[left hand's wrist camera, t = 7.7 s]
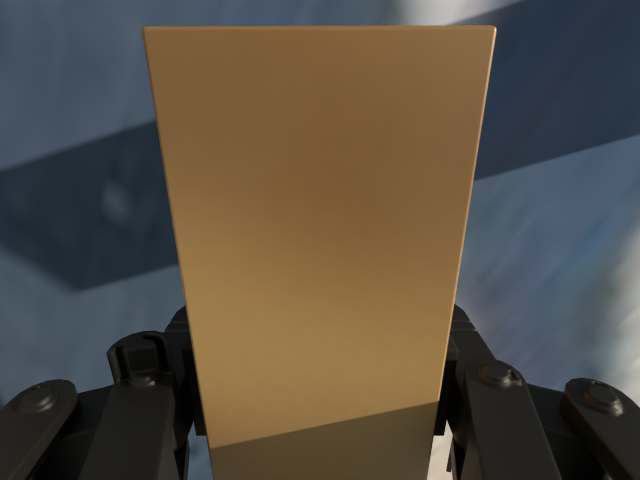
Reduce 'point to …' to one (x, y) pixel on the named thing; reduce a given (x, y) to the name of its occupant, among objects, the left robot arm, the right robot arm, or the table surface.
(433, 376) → the bar
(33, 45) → the table surface
